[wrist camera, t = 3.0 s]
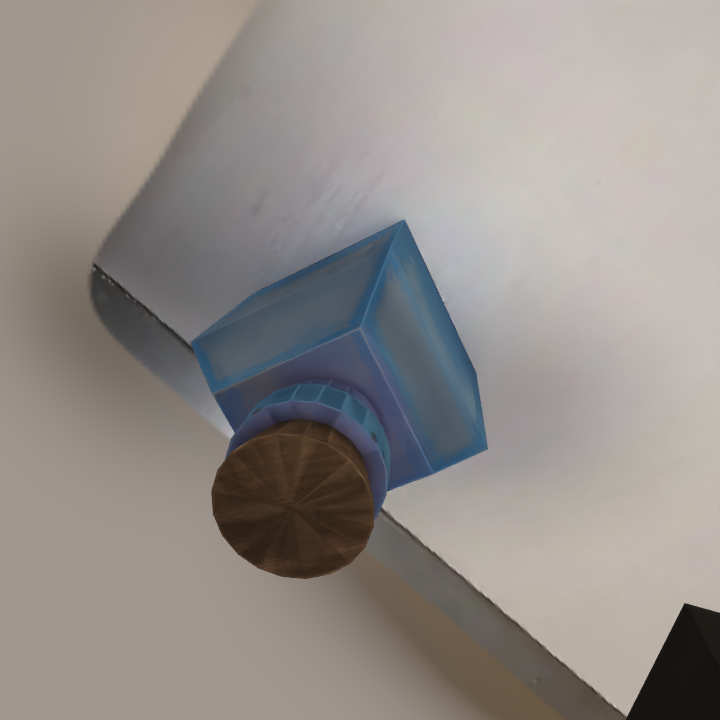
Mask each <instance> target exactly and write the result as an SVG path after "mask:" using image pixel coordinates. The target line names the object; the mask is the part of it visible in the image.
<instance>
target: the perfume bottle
mask: <svg viewBox="0 0 720 720" xmlns="http://www.w3.org/2000/svg"><path fill="white" fill-rule="evenodd" d="M190 343H191V345H192V348H193V350H194V352H195V355H196V357H197V359H198V362H199V364H200V366H201V369H202V371H203V374H204V376H205V378H206V381H207V383H208V385H209V388H210V390H211V392H212V395H213V396H214V398H215V400H216V401H217V403H218V405H219V407H220V408H221V410H222V412H223V413H224V415H225V417H226V418H227V420H228V422H229V424H230V425H231V427H232V429H233V430H234V432H235V434H234V435H233V437H232V438H231V441H230V444H229V448H228V451H227V455H226V458H225V461H224V462H223V464H222V465H221V466H220V468H219V469H218V471H217V474H216V477H215V481H214V484H213V488H212V506H213V515H214V517H215V520H216V522H217V524H218V527H219V529H220V531H221V534H222V536H223V537H224V538H225V539H226V541H227V542H228V543H229V544H230V545H231V547H232V548H233V549H234V550H235V551H236V552H237V554H238V555H240V556H242V557H243V558H244V559H246V560H247V561H248V562H250V563H251V564H253V565H254V566H256V567H257V568H259V569H262V570H265V571H267V572H270V573H273V574H276V575H278V576H281V577H291V578H302V579H308V578H313V577H319V576H324V575H329V574H331V573H333V572H335V571H337V570H339V569H341V568H343V567H345V566H346V565H348V564H350V563H351V562H352V561H353V560H354V559H355V558H356V557H357V556H358V554H359V553H360V552H361V551H362V550H363V549H364V548H365V547H366V544H367V542H368V539H369V537H370V534H371V532H372V529H373V527H374V519H375V518H376V517H377V516H378V514H379V511H380V509H381V507H382V504H383V502H384V499H385V497H386V494H387V491H389V490H392V489H395V488H397V487H400V486H403V485H405V484H408V483H411V482H413V481H416V480H419V479H421V478H424V477H427V476H429V475H432V474H434V473H437V472H439V471H441V470H443V469H445V468H448V467H450V466H452V465H454V464H456V463H459V462H461V461H463V460H465V459H467V458H470V457H472V456H474V455H476V454H478V453H481V452H483V451H485V450H487V449H488V446H487V439H486V433H485V426H484V420H483V414H482V407H481V401H480V394H479V388H478V382H477V375H476V372H475V370H474V368H473V365H472V363H471V361H470V359H469V357H468V355H467V353H466V350H465V348H464V346H463V344H462V342H461V340H460V338H459V335H458V333H457V331H456V329H455V327H454V325H453V322H452V320H451V318H450V316H449V314H448V312H447V310H446V307H445V305H444V303H443V301H442V299H441V297H440V295H439V292H438V290H437V288H436V286H435V284H434V282H433V279H432V277H431V275H430V273H429V271H428V269H427V267H426V264H425V262H424V260H423V258H422V256H421V254H420V252H419V249H418V247H417V245H416V243H415V241H414V239H413V236H412V234H411V232H410V230H409V228H408V226H407V224H406V221H405V220H403V221H401V222H399V223H397V224H394V225H392V226H390V227H388V228H386V229H384V230H382V231H380V232H378V233H376V234H374V235H372V236H370V237H368V238H366V239H364V240H362V241H360V242H358V243H356V244H354V245H352V246H350V247H348V248H345V249H343V250H341V251H339V252H337V253H335V254H333V255H331V256H329V257H327V258H325V259H323V260H321V261H319V262H317V263H315V264H313V265H311V266H309V267H307V268H305V269H303V270H301V271H299V272H296V273H294V274H292V275H290V276H288V277H286V278H284V279H282V280H280V281H278V282H276V283H274V284H272V285H270V286H268V287H266V288H264V289H262V290H260V291H258V292H256V293H254V294H252V295H251V296H250V297H248V298H247V299H246V300H244V301H243V302H242V303H240V304H239V305H238V306H237V307H235V308H234V309H233V310H231V311H230V312H229V313H228V314H226V315H225V316H224V317H222V318H221V319H220V320H218V321H217V322H216V323H215V324H213V325H212V326H211V327H209V328H208V329H207V330H206V331H204V332H203V333H202V334H200V335H199V336H198V337H196V338H195V339H194V340H193V341H191V342H190Z"/></svg>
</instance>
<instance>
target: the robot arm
mask: <svg viewBox="0 0 720 720" xmlns="http://www.w3.org/2000/svg"><path fill="white" fill-rule="evenodd" d="M626 720H720V613H718V612H715V611H711V610H708V609H704V608H700V607H697V606H693V605H690V604H686V603H684V605H683V607H682V609H681V611H680V613H679V615H678V617H677V619H676V621H675V623H674V625H673V627H672V629H671V631H670V633H669V635H668V637H667V639H666V641H665V643H664V645H663V647H662V649H661V651H660V653H659V655H658V657H657V659H656V661H655V663H654V665H653V667H652V669H651V671H650V673H649V675H648V677H647V679H646V681H645V683H644V685H643V687H642V689H641V691H640V693H639V695H638V697H637V699H636V700H635V702H634V704H633V706H632V708H631V710H630V712H629V714H628V716H627V718H626Z"/></svg>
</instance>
